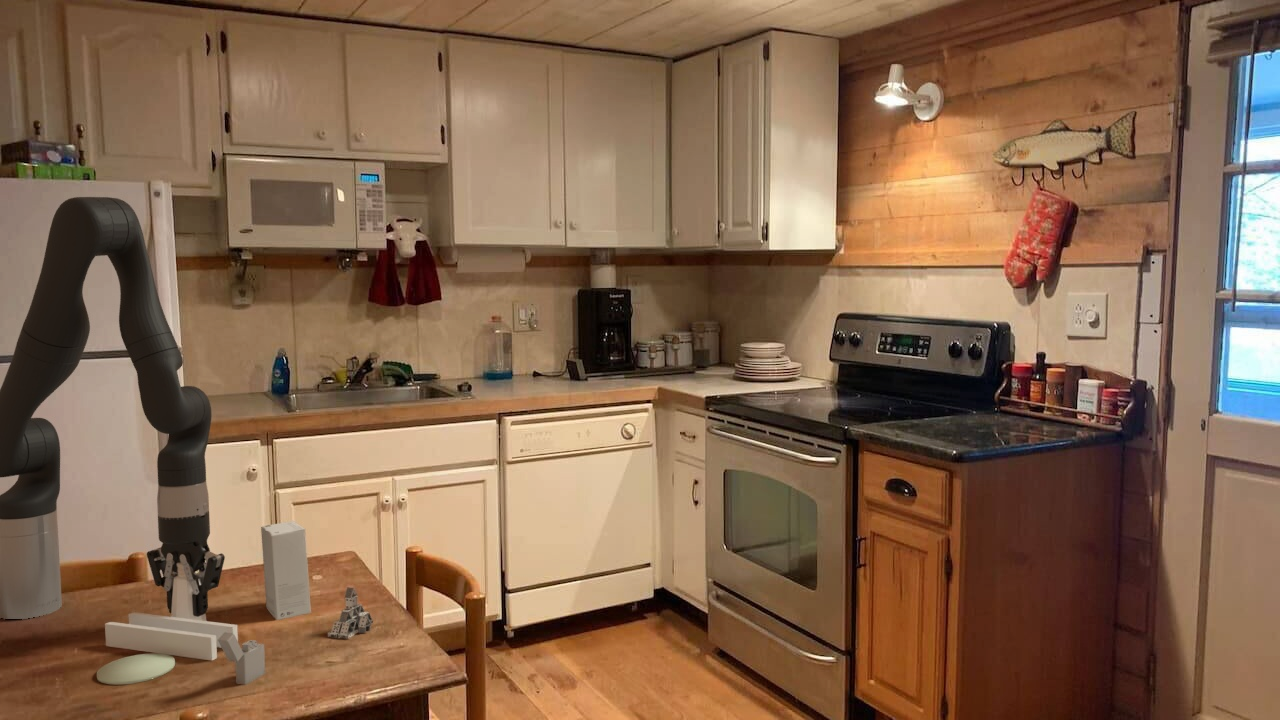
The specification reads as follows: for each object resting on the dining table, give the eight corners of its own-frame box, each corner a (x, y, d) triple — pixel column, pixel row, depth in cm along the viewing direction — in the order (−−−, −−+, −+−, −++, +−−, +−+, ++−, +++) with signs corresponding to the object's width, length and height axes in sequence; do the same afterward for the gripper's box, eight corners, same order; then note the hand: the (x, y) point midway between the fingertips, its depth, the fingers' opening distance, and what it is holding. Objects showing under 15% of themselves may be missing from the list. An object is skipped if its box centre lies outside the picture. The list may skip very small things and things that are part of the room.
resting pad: (80, 679, 133) (79, 676, 133) (136, 653, 143) (136, 650, 143) (136, 688, 130) (136, 684, 130) (190, 660, 140) (190, 657, 140)
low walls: (105, 645, 146) (104, 623, 145) (134, 633, 151) (133, 612, 151) (212, 660, 140) (211, 637, 140) (238, 647, 145) (237, 624, 145)
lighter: (256, 671, 136) (254, 617, 135) (266, 673, 135) (264, 619, 135) (219, 691, 129) (217, 635, 128) (229, 693, 128) (227, 636, 128)
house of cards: (368, 651, 144) (367, 602, 144) (320, 644, 147) (318, 596, 146) (400, 630, 153) (399, 584, 152) (354, 624, 155) (352, 579, 155)
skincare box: (311, 615, 159) (308, 529, 158) (274, 622, 156) (271, 534, 154) (299, 601, 166) (296, 518, 165) (263, 608, 162) (260, 523, 161)
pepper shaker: (214, 622, 156) (211, 557, 155) (188, 634, 150) (186, 566, 150) (188, 619, 157) (185, 554, 156) (162, 630, 152) (159, 563, 151)
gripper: (129, 512, 151) (134, 616, 152) (202, 518, 147) (206, 625, 148) (166, 502, 158) (170, 602, 159) (236, 507, 154) (240, 610, 155)
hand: (187, 612), depth 154 cm, fingers open, 4 cm apart
